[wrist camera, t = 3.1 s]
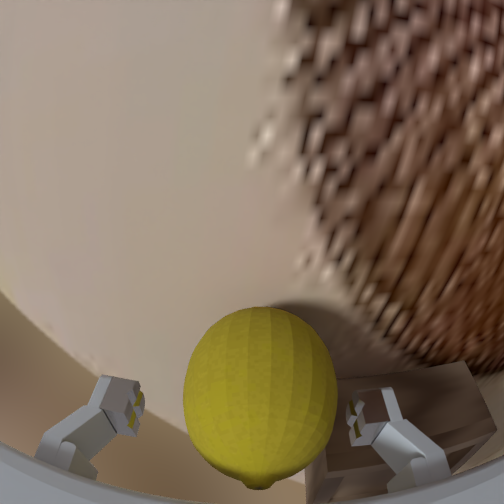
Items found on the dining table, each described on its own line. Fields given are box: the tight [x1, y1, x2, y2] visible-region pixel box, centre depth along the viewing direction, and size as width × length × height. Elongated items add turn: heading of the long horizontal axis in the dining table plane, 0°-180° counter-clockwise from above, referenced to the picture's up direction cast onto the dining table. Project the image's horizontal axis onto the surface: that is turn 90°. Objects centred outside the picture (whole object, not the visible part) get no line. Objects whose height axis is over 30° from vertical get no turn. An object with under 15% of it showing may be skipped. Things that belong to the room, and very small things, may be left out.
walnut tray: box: [305, 361, 497, 504], centre depth 16 cm, size 10×10×6 cm
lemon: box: [183, 307, 338, 490], centre depth 11 cm, size 6×6×8 cm
